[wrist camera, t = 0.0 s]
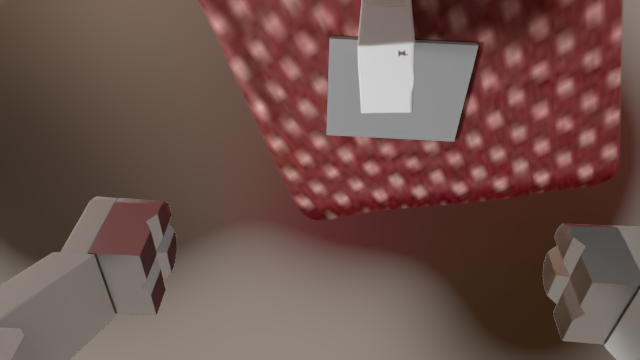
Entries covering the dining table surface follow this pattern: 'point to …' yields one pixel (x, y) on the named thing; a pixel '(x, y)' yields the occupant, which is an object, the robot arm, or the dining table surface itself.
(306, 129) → the dining table surface
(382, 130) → the mat
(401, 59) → the skincare box
